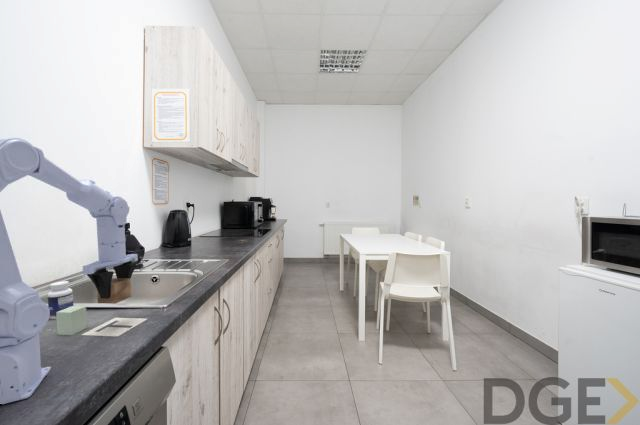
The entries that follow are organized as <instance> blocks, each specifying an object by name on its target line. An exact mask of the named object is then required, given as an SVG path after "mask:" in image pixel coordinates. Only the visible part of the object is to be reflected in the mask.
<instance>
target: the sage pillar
mask: <svg viewBox="0 0 640 425" xmlns="http://www.w3.org/2000/svg"><path fill="white" fill-rule="evenodd" d="M56 316H57V319H56V330H57V335H58V336H59V335H63V336H74V335H76V334H77V333H79V332H81V331H83V330H86V329H87V328H88V319H87V318H88V316H87V306H84V305H82V306H79V305H77V306H76V305H74V306H71V307H69V308H66V309H63V310H61V311H58V312H56Z"/></svg>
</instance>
